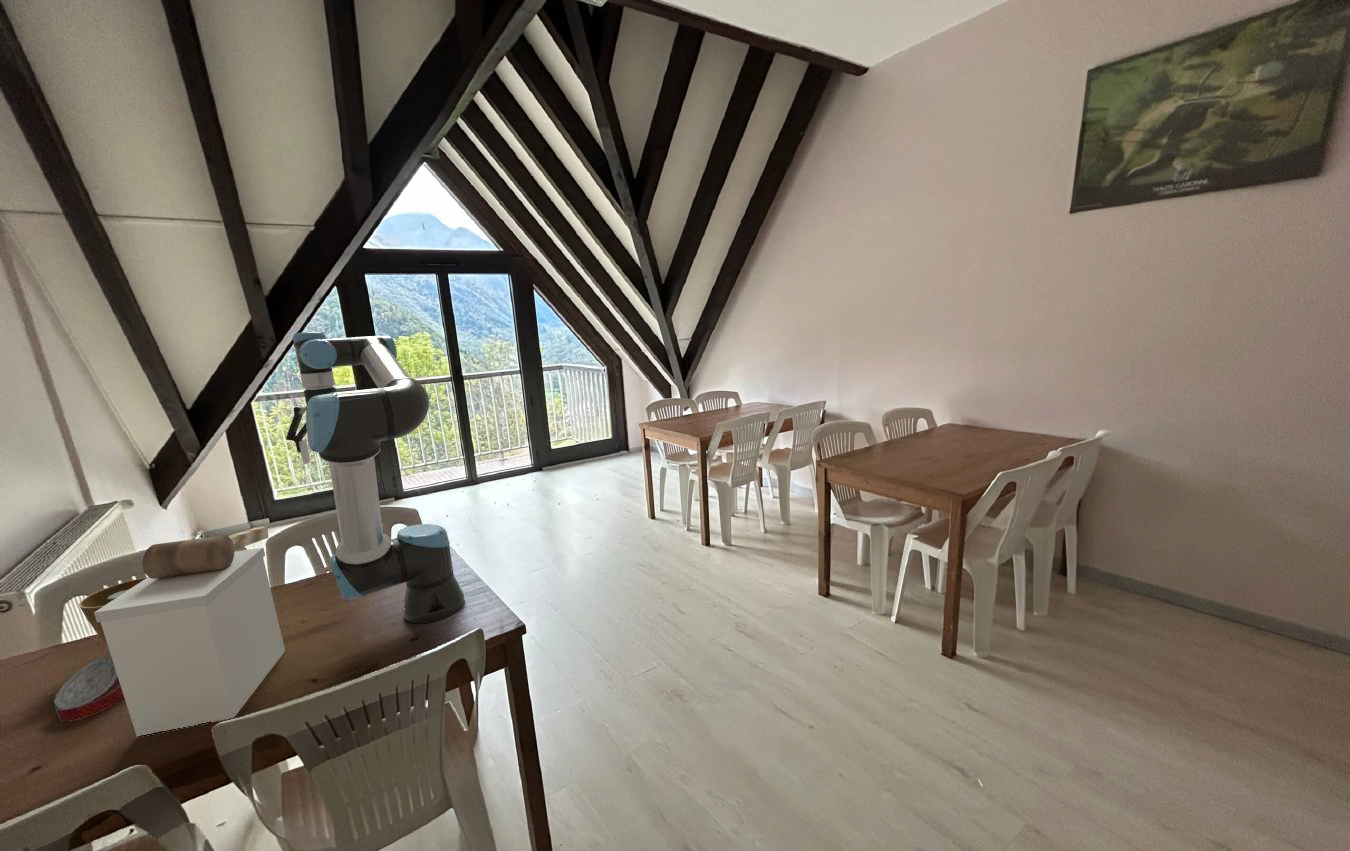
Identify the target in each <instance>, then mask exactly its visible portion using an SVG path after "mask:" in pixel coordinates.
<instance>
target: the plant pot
mask: <svg viewBox="0 0 1350 851" xmlns="http://www.w3.org/2000/svg"><path fill="white" fill-rule="evenodd" d="M146 578H148V576H147V577H146V576H145V577H141V578H135V579H130V580H127V581H124V582H121V583H117V584H114V585H111V586H109V587H106V588H103V589H100V590H98V591H96V592H94V593H92V594H90V595H88V596H87V597H85V598H84V599H82V600H81V601H80V602H79V603H78V605H79V607H80V609H81V611H82V614H83V615H84V616H85V618H86V620H87V621H88V622H89V625H90V626H91V627H92V629H94V631H95V632H96V634H97V635H98V636H99V637H100V639H101V640H102V641H103V642H105V644H106V645H107V646H108V644H107V641H106V638H105V635H104V632H103V628H102V625H101V622H97V621H96V618H95V614H94V612H96V611H97V610H99V609H100V608H102V607H103V606H105V605H106V604H108V599H107V598H108V597H109V596H111V595H113V594H115V593H117V592H121V591H125V590H129V589H131V588H132V587H134V586H135V585H137V584H139V583H140V582H142V581H143V580H145V579H146Z"/></svg>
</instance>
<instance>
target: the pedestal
mask: <svg viewBox="0 0 1350 851" xmlns="http://www.w3.org/2000/svg"><path fill="white" fill-rule="evenodd" d="M265 556H266V553H265V548H264V547H259V548H252V549H251V548H250V549H243V550H234V559H233V561H232V563H231V565H230V566H229V567H228V568H226V569H220V570H213V571H206V572H199V573H192V574H185V575H178V576H171V577H164V578H157V579H152V578H149V577H148V576H147V577H148V578H146V579H145V580H143V581H142V582H140V583H139V584H137V585H135V586H134V587H132V588H131V589H129V590H128V591H126V592H125V593H123V594H122V595H120V596H119V597H117V598H116V599H114V600H112V601H111V602H109V603H108V604H106V605H105V606H103V607H102V608H100V609H99V610H97V611H96V612H94V614H95V618H96V621H97V622H101V625H102V628H103V632H104V635H105V638H106V641H107V644H108V645H107V644H106V645H107V647H108V650H109V653H110V658H112V660H113V663H114V666H115V669H116V673H117V676H118V679H119V682H120V685H121V688H122V692H123V695H124V697H123V699H124V701H125V703H126V707H127V711H128V713H129V717H130V720H131V723H132V725H133V726H132V727H133V729H134V733H135V735H136V737H137V736H140V735H147V734H151V733H154V732H159V731H167V730H171V729H176V730H178V729H177V728H181V729H184V728H183V727H186V728H189V727H188V726H191V727H195V726H194V725H196V726H199V725H198V724H201V723H206V722H210V721H211V723H215V722H221V721H226V720H230V719H234V718H236V716H237V714H239V712H240V711H241V710H242V709H243V707H244V705H245V704H246V703H247V702H248V700H249V699H250V697H251V696H253V694H254V693H255V691H256V690H257V688H258V687H259V686H260V685H261V684H262V682H263V681H264V679H265V678H267V675H268V674H269V673H270V672H271V670H272V669H273V668H274V666H276V664H277V663H278V661H279V660H280V659H281V658H282V656H283V655H284V653H285V652H286V648H285V644H284V640H283V637H282V632H281V628H280V623H279V620H278V615H277V612H276V611H277V610H276V606H275V602H274V597H273V594H272V589H271V585H270V581H269V576H268V572H267V568H266V564H265V559H264V557H265ZM206 724H207V723H206ZM201 725H202V724H201ZM167 732H168V731H167ZM147 736H148V735H147Z"/></svg>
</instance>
